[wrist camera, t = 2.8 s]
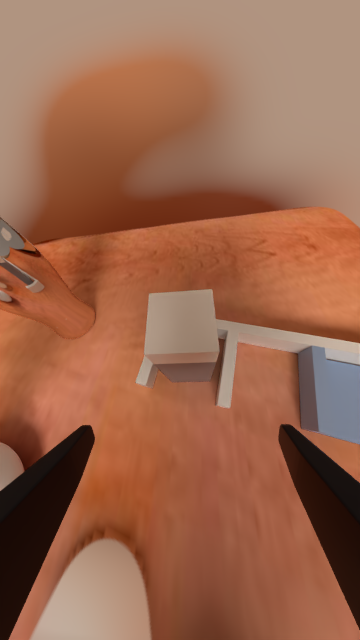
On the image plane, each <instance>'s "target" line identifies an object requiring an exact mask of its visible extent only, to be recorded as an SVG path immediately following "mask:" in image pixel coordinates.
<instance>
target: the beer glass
mask: <svg viewBox="0 0 360 640" xmlns="http://www.w3.org/2000/svg"><path fill="white" fill-rule="evenodd" d="M0 309H1V310H3V311H6V312H9V313H12V314H15V315H18V316H21V317H24V318H27V319H31V320H34V321H37V322H39V323H42V324H44V325H46V326H48V327H49V328H51V329H52V330H53V331H54V332H55V333H56V334H57V335H59V336H60V337H62V338H64V339H76V338H78V337H81V336H82V335H84V334H85V333H87V332H88V331H89V330H90V328H91V327H92V325H93V323H94V321H95V311H94V309H93V308H92V307H91V306H90V305H89V304H87V303H85V302H83V301H82V300H80V299H79V298H77V297H76V296H75V295H74V294H73V293H72V291H71V290H70V289H69V287H68V286H67V285H66V283H65V282H64V280H63V279H62V278H61V276H60V275H59V273H58V272H57V271H56V270H55V268H54V267H53V266H52V265H51V263H50V262H49V261H48V260H47V259H46V258H45V257H44V256H43V255H42V254H41V253H40V252H39V250H37V249H36V248H35V247H34V246H33V245H32V244H31V243H30V242H29V241H28V240H27V239H26V238H24V237H23V236H22V235H21V234H20V233H19V232H17V231H16V230H15V229H14V228H13V227H12V226H10V225H9V224H8V223H7V222H6V221H4V220H3V219H2V218H1V217H0Z"/></svg>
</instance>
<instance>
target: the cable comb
mask: <svg viewBox="0 0 360 640" xmlns="http://www.w3.org/2000/svg"><path fill="white" fill-rule="evenodd" d="M216 325H217V334H218V338H220V339H225V342H224V349H223V356H222V362H221V369H220V376H219V383H218V390H217V396H216V403H215V405H216V406H219V407H223V408H230V405H231V397H232V388H233V379H234V370H235V361H236V352H237V343H238V342H241V343H246V344H251V345H256V346H261V347H267V348H272V349H277V350H282V351H288V352H293V353H298V367H299V390H300V413H301V429H305V430H308V431H312V432H316V433H320V434H323V435H327V436H331V437H334V438H338V439H342V440H346V441H349V442H353V443H357V444H360V366H357V365H360V343H355V342H349V341H343V340H337V339H331V338H326V337H320V336H314V335H308V334H302V333H296V332H290V331H284V330H278V329H272V328H267V327H261V326H255V325H249V324H243V323H237V322H231V321H225V320H219V319H216ZM326 359H329V360H326ZM331 360H335V361H331ZM336 361H340V362H336ZM342 362H345V363H342ZM347 363H350V364H347ZM352 364H356V365H352ZM157 372H158V368H157V367H156V366H155V365H154V364H153V363H152V362H151V361H150V360H149V359H148V358H147V357H146V356H144V359H143V362H142V365H141V368H140V370H139V373H138V376H137V379H136V382H135V383H137V384H140V385H142V386H145V387H149V388H152V389H153V386H154V382H155V379H156V376H157Z"/></svg>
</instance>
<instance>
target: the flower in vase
mask: <svg viewBox="0 0 360 640" xmlns="http://www.w3.org/2000/svg"><path fill="white" fill-rule="evenodd" d="M23 472H24V468H23V464H22V462H21V460H20V458H19V456H18V455H17V454H16V453H15V452H14V450H13V449H12V448H10V447H9V446H8V445H6V444H4V443H1V442H0V491H1V490H2V489H3V488H4V487H6V486H7V485H8V484H9V483H11V482H12V481H13V480H14V479H16V478H17V477H18V476H19V475H21V474H22V473H23Z"/></svg>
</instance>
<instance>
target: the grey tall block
mask: <svg viewBox="0 0 360 640" xmlns="http://www.w3.org/2000/svg"><path fill="white" fill-rule="evenodd" d="M219 352H220V350H219V342H218V334H217V325H216V317H215V308H214V300H213V291H212V289H205V290H191V291H178V292H164V293H150V294H149V302H148V313H147V325H146V336H145V348H144V355H145V356H146V357H147V358H148V359H149V360H150V361H151V362H152V363H153V364H154V365H155V366H156V367H157V368H158V369H159V370H160V371H161V372H162V373H163V374H164V375H165V376H166V377H167V378H168V379H169V380H170V381H171V382H208V381H210V380H211V377H212V373H213V370H214V367H215V364H216V361H217V358H218V355H219Z"/></svg>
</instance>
